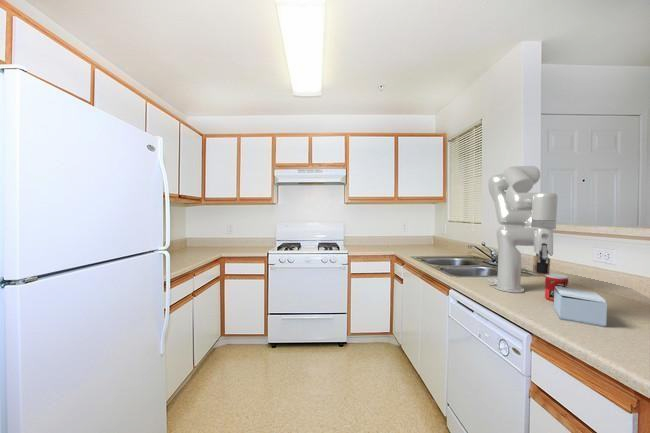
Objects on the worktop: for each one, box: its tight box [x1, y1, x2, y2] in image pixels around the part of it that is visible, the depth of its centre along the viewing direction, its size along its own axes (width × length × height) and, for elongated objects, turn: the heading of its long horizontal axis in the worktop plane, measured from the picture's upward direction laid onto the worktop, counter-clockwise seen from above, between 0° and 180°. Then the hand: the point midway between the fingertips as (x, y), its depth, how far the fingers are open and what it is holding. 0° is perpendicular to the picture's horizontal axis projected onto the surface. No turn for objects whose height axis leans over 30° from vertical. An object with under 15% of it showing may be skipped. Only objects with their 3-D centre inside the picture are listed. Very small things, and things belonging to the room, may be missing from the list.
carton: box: [553, 289, 608, 328], centre depth 100 cm, size 12×12×8 cm
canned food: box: [544, 272, 569, 303], centre depth 120 cm, size 8×8×11 cm
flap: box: [555, 286, 607, 303], centre depth 100 cm, size 12×11×1 cm
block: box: [532, 255, 551, 276], centre depth 105 cm, size 4×4×6 cm
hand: (540, 271), depth 105 cm, fingers closed on block, 4 cm apart
